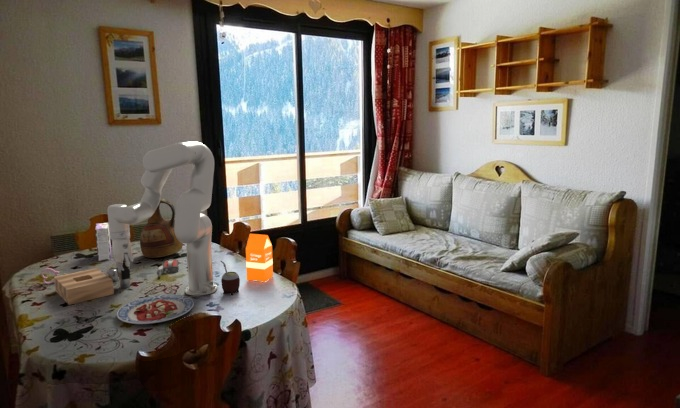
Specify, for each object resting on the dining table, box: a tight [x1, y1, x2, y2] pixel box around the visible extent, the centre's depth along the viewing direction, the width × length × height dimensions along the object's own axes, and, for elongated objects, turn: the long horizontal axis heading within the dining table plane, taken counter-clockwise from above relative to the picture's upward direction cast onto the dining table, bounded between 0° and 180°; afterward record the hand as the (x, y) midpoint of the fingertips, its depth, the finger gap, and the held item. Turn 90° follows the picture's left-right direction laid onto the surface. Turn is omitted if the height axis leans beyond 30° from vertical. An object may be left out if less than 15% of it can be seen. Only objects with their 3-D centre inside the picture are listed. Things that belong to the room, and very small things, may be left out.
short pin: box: [107, 268, 119, 284], centre depth 198 cm, size 4×4×5 cm
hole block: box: [53, 267, 115, 306], centre depth 185 cm, size 20×16×6 cm
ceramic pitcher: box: [139, 197, 183, 259], centre depth 233 cm, size 20×20×30 cm
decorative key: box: [40, 267, 80, 285], centre depth 199 cm, size 7×1×20 cm
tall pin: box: [116, 261, 131, 290], centre depth 190 cm, size 4×4×12 cm
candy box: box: [95, 222, 112, 262], centre depth 233 cm, size 14×6×16 cm, turn 25°
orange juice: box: [245, 233, 274, 282], centre depth 199 cm, size 8×9×20 cm
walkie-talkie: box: [157, 259, 180, 278], centre depth 211 cm, size 9×4×20 cm
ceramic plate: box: [116, 293, 194, 325], centre depth 166 cm, size 26×26×3 cm
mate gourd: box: [220, 260, 241, 296], centre depth 183 cm, size 8×8×15 cm
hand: (124, 277), depth 191 cm, fingers closed on tall pin, 4 cm apart
